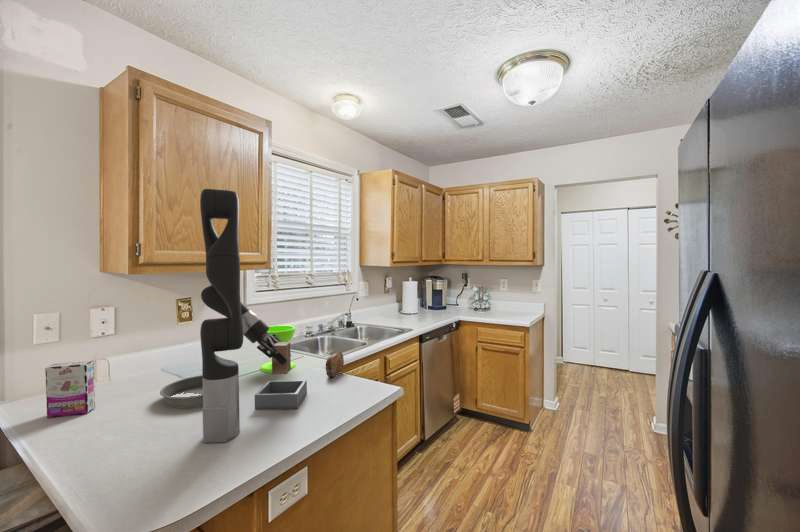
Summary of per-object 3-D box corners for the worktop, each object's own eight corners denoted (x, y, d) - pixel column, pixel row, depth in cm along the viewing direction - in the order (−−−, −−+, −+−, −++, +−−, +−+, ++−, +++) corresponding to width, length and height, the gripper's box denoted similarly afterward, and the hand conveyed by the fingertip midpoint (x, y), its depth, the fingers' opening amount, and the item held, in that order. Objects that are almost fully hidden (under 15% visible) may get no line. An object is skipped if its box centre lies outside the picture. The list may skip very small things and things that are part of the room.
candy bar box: (96, 408, 124) (94, 360, 123) (87, 414, 119) (86, 364, 119) (56, 412, 121) (54, 363, 120) (45, 418, 116) (44, 367, 116)
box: (297, 409, 121) (297, 394, 121) (254, 410, 121) (254, 395, 120) (306, 393, 135) (306, 380, 135) (268, 394, 135) (268, 380, 134)
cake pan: (164, 391, 139) (164, 380, 139) (234, 381, 150) (234, 370, 150) (155, 416, 117) (155, 402, 117) (238, 401, 129) (238, 389, 128)
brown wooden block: (286, 374, 125) (286, 345, 125) (272, 374, 125) (271, 345, 125) (290, 369, 130) (290, 341, 130) (276, 369, 130) (276, 342, 130)
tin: (331, 379, 150) (331, 359, 150) (324, 379, 151) (324, 359, 151) (344, 368, 165) (344, 350, 165) (337, 368, 166) (337, 350, 166)
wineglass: (258, 365, 172) (257, 327, 172) (292, 360, 179) (292, 324, 179) (260, 374, 158) (259, 333, 157) (298, 369, 164) (297, 330, 164)
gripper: (251, 322, 120) (288, 358, 120) (266, 315, 134) (299, 347, 135) (235, 338, 120) (272, 374, 121) (252, 329, 134) (285, 361, 135)
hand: (286, 360), depth 128 cm, fingers closed on brown wooden block, 5 cm apart
